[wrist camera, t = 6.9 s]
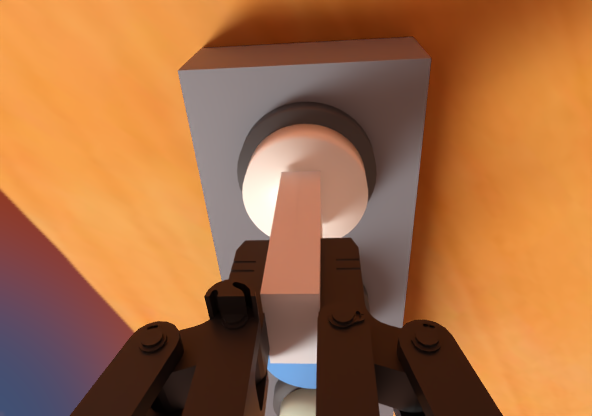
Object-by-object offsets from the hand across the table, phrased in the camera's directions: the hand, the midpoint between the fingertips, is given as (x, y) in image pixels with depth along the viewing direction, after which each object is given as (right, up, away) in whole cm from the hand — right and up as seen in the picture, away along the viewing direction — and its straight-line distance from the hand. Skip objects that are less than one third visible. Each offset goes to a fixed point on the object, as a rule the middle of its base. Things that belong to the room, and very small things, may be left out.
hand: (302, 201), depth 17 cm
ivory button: (0, +1, +1) cm, 2 cm away
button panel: (+1, -3, +10) cm, 11 cm away
